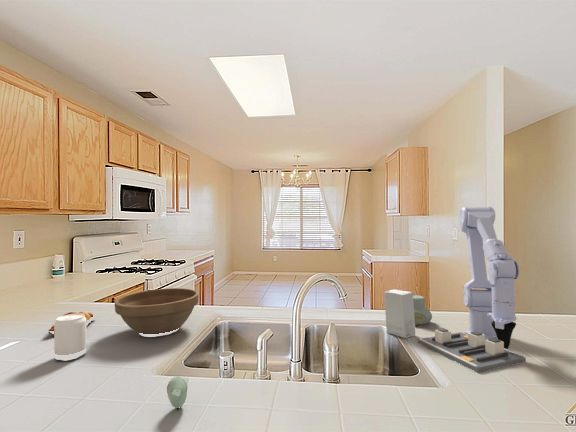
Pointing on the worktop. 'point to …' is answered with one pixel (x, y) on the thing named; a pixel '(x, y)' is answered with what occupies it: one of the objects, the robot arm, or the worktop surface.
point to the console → (471, 353)
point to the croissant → (87, 315)
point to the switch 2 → (494, 346)
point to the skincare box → (399, 313)
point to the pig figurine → (177, 391)
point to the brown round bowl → (157, 309)
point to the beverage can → (70, 334)
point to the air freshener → (421, 311)
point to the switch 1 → (442, 335)
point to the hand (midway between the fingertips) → (504, 347)
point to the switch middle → (476, 339)
